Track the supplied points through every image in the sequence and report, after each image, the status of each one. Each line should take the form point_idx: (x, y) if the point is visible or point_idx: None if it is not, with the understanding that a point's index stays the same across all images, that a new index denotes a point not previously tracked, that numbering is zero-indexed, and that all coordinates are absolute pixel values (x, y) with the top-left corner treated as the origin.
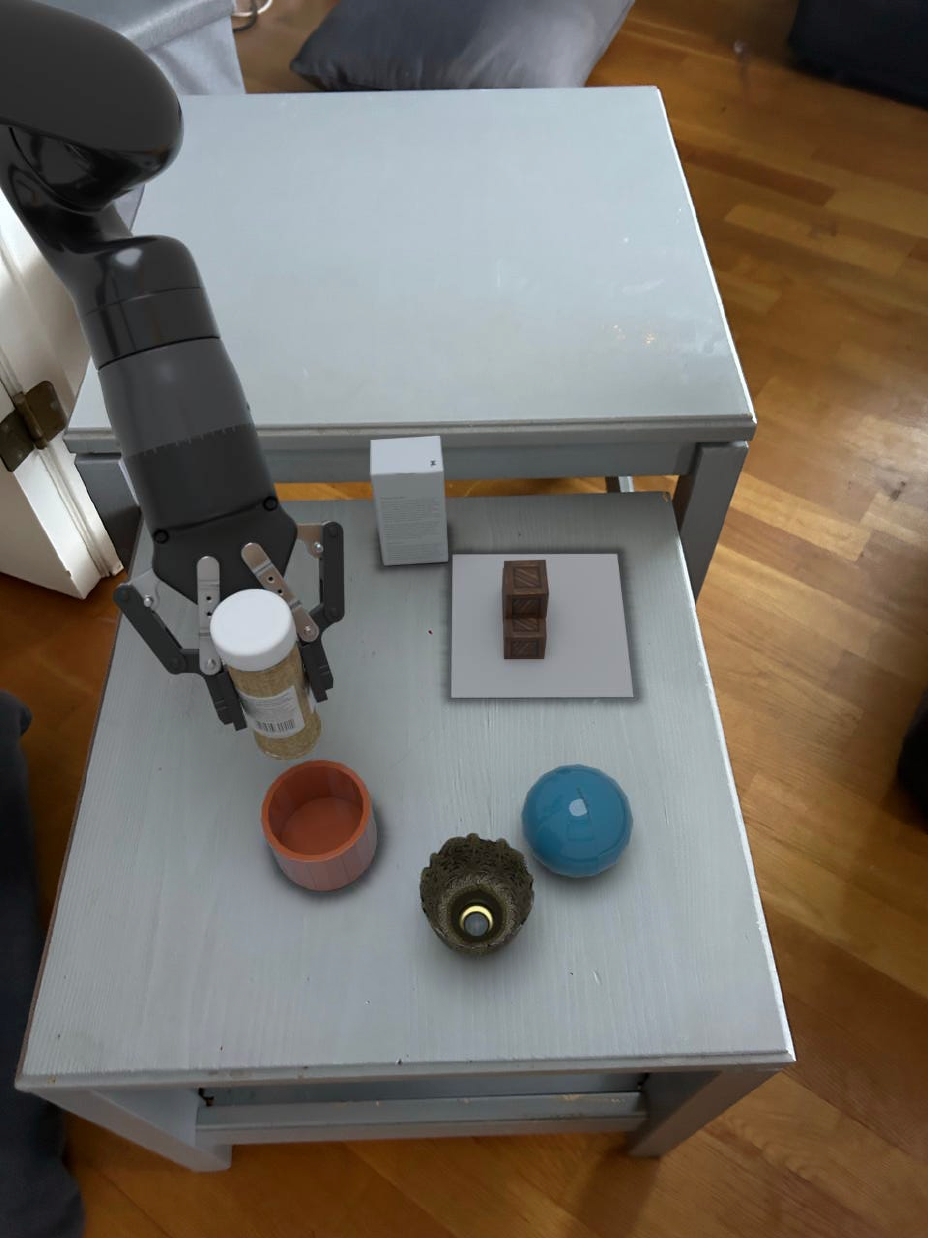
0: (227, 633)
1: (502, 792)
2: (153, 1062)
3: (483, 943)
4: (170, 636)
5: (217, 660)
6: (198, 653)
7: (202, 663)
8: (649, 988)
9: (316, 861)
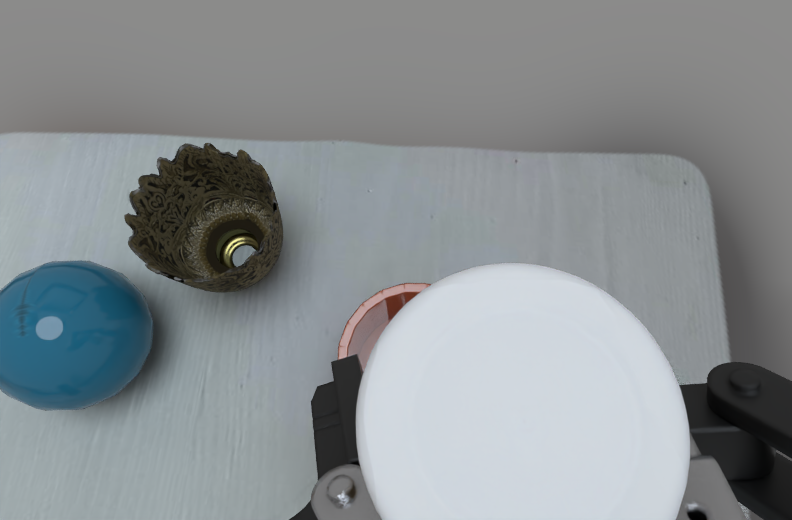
0: (607, 354)
1: (180, 420)
2: (582, 153)
3: (233, 218)
4: (789, 514)
5: None
6: None
7: None
8: (81, 182)
9: (413, 283)
